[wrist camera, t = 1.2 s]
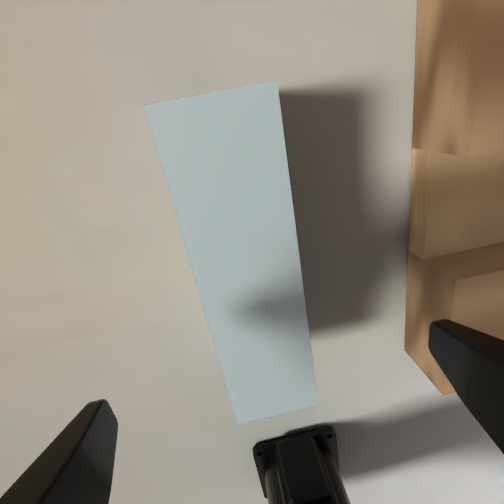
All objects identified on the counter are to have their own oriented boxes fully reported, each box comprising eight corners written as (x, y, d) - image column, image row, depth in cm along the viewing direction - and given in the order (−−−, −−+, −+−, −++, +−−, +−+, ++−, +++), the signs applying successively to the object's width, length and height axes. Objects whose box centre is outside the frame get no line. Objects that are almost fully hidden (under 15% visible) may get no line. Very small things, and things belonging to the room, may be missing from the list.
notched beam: (483, 331, 23) (535, 372, 19) (404, 349, 23) (442, 395, 19) (549, -68, 14) (673, -134, 10) (419, -46, 13) (498, -106, 10)
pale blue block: (288, 328, 21) (318, 405, 15) (228, 342, 20) (237, 425, 15) (250, 93, 15) (277, 79, 9) (167, 109, 15) (143, 105, 9)
